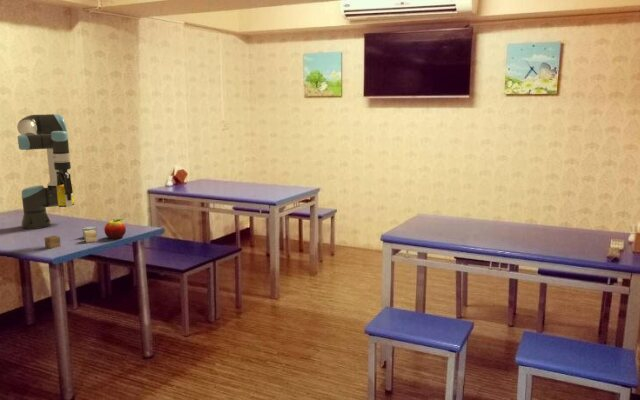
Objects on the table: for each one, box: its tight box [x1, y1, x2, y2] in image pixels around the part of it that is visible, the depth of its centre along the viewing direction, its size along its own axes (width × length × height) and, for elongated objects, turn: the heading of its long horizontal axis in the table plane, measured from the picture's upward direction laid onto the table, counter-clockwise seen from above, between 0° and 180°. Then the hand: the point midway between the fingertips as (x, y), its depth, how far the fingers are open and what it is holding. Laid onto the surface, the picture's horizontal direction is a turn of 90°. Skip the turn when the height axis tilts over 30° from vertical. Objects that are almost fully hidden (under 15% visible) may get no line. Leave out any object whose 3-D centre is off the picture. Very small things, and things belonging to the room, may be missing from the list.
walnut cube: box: [44, 235, 61, 249], centre depth 263 cm, size 5×5×5 cm
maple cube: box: [84, 230, 98, 243], centre depth 273 cm, size 5×5×5 cm
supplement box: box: [56, 184, 75, 208], centre depth 270 cm, size 6×6×11 cm
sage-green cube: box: [82, 226, 98, 239], centre depth 282 cm, size 5×5×5 cm
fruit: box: [103, 218, 127, 240], centre depth 279 cm, size 11×11×10 cm
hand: (66, 205), depth 271 cm, fingers closed on supplement box, 8 cm apart
